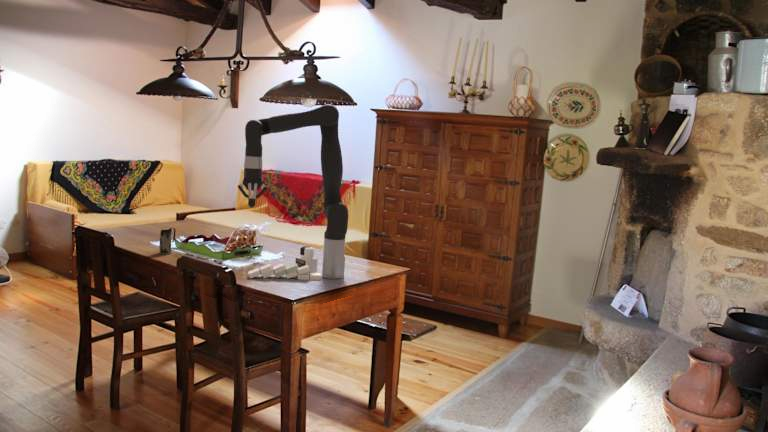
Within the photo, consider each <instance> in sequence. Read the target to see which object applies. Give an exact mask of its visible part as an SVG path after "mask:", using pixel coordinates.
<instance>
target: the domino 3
mask: <svg viewBox="0 0 768 432" xmlns="http://www.w3.org/2000/svg"><path fill="white" fill-rule="evenodd" d="M285 268H286V270H284V271H281V272H279V273H276V274H274V275H273V276H275V279H278V278H281V277H284V276H286V274H289V273H291V272H294V271H296V270H298V264H297V263H296V262H295V263H293V264H290V265H287V266H285Z"/></svg>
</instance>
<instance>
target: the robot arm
mask: <svg viewBox="0 0 768 432" xmlns="http://www.w3.org/2000/svg"><path fill="white" fill-rule="evenodd" d="M339 119H340V113H339V110H338V108H337V107H336V106H335V105H333V104H331V103H326V104H323V105H321V106H319V107H317V108H316V107H315V108H314V109H311V110H307V111H303V112H295V113H294V112H293V113H286V114H279V115H274V116H271V117H269V118H268V117H267V118H260V119H251V120H249V121H247V122H246V124H245V127H244V132H245V133H244V136H245V154H244V155H245V157H244V162H243V163H244V164H243V168H244V169H243V180H242V182H241V183H240V184H238V185H237V188H238V190H239V192H241V194H242V195H243V196H244V197H245V198H247V200H248V202H247V204H248V207H249V208H254V207H256V199H259V198H260V197H261V196H262V195H263V194H264V192H265V191H267V189H268V186H266V185H265V184H264V182H263V144H262V137H263V136H265V135H269V134H277V133H282V132H283V133H284V132H288V131H291V130H292V131H294V130H297V129H301V128H302V129H303V128H307V127H314V126H315V127H319V126H320V127H319V128H320V129H319V130H320V134H321V135H320V136H321V144H320V145H321V146H320V165H321V175H322V176H321V178H322V183H323V194H324V195H323V197H324V198H323V213H324V214H323V215H324V217H325V218H326V219H327V221H326V230H325V231H324V237H323V254H322V269H321V270H322V271H321V272H322V273H321V277H322V278H325V279H332V280H336V279H337V280H338V279H339V280H340V279H344V278H345V269H346V268H345V266H346V257H345V251H346V250H345V248H346V247H345V245H346V236H347V233H348V226H349V210H348V207H347V206H346V205H345V204H344V203H342V202H343V201H342V195H341V187H342V185H341V184H342V179H343V174H344V173H343V171H344V167H343V166H344V163H343V155H342V149H341V145H340V144H341V143H340V139H339ZM244 188H245V189H246V190H247V192H246V191H245V190H244ZM260 188H261V190H260V191H259V192H258V193H257V191H258V190H259V189H260ZM247 193H248V194H247Z"/></svg>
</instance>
